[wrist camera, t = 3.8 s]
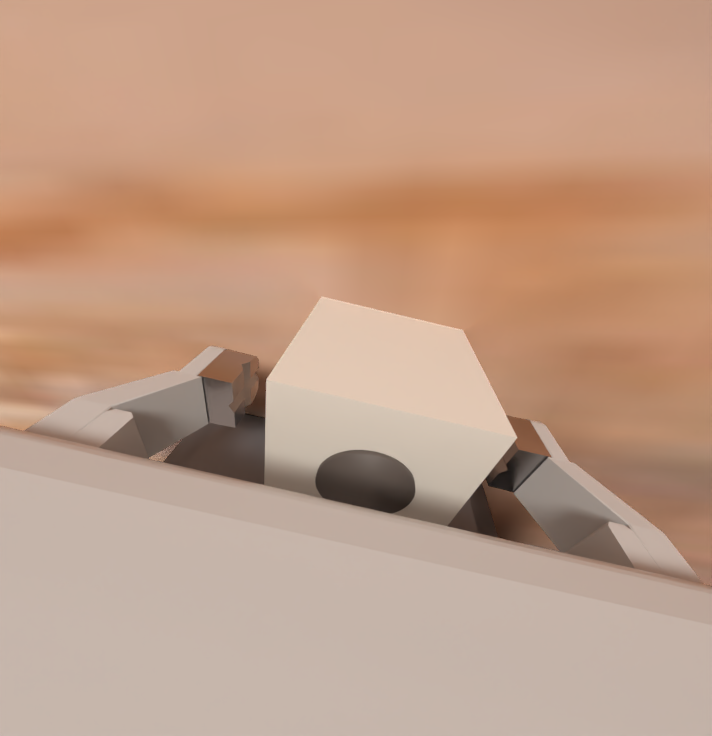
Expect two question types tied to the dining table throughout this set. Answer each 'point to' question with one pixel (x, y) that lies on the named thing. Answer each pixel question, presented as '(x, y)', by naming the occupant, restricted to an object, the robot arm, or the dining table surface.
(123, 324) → the dining table surface
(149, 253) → the dining table surface
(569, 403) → the dining table surface
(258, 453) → the sorting tray
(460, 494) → the block
